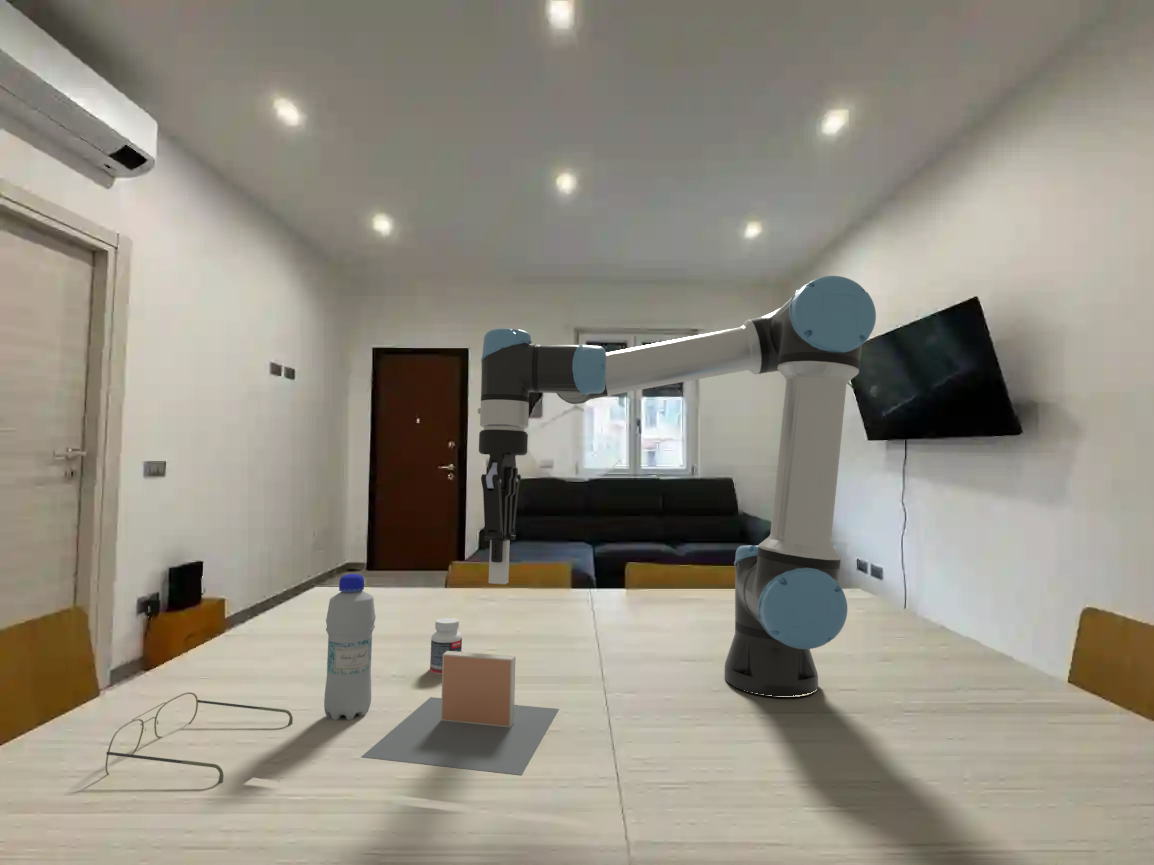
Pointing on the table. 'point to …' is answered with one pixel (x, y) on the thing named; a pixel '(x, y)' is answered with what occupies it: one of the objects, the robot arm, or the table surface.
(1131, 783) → the table surface
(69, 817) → the table surface
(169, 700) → the eyeglasses
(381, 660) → the table surface
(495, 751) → the mat
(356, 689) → the bottle
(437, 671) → the pill bottle
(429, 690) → the table surface
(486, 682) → the tile
